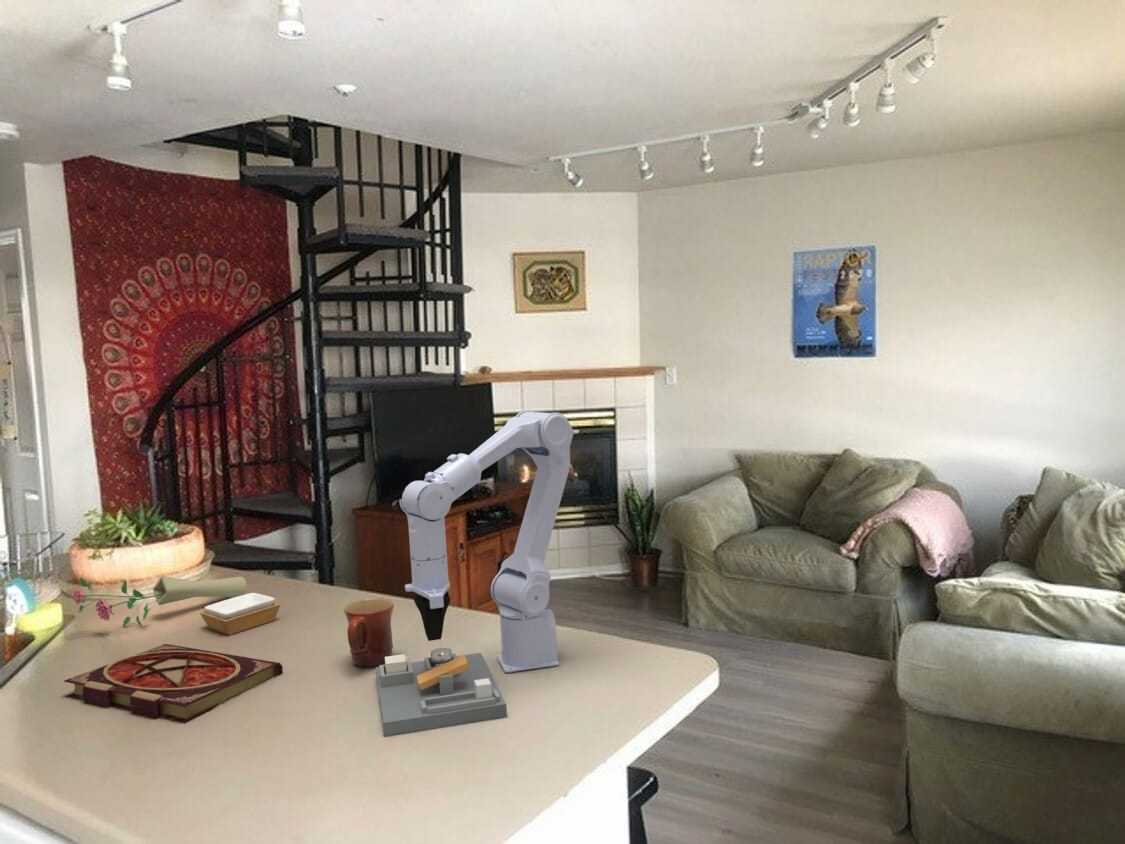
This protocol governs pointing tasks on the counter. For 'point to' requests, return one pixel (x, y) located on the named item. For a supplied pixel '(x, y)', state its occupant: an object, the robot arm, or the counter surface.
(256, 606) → the soap dish
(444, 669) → the rocker
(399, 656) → the button square
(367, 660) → the mug
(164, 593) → the flower vase
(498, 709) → the console
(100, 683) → the book
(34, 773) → the counter surface
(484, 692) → the slider knob
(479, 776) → the counter surface
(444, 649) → the button round
